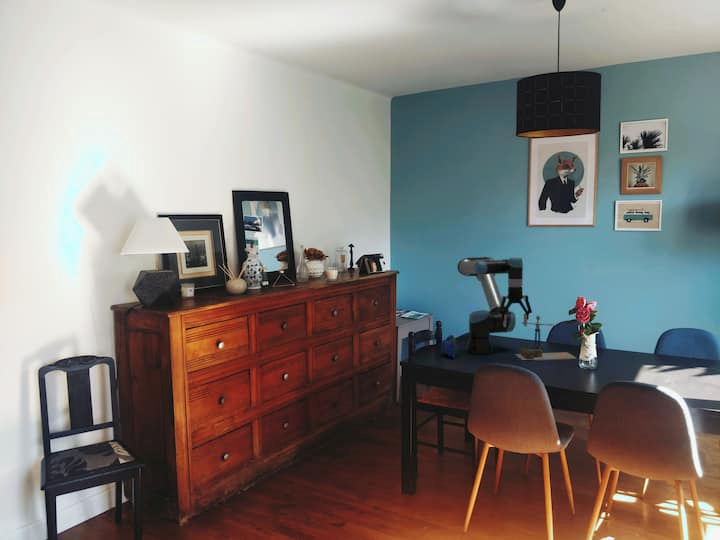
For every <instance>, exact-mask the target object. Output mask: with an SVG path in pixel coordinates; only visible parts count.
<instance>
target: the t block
mask: <svg viewBox="0 0 720 540" xmlns="http://www.w3.org/2000/svg"><path fill="white" fill-rule="evenodd" d="M542 353H543V349H541V348H534V349H532V348H531V349H529V348H528V347H527V348H526V347H524V348H523V347H522V348H520V354H521V355H522V356H524V357H525V358H526V359H534V357H542Z"/></svg>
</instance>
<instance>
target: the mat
mask: <svg viewBox="0 0 720 540" xmlns="http://www.w3.org/2000/svg"><path fill="white" fill-rule="evenodd" d="M515 355H516V356H517V357H518V359H519V358H520V359H521V360H537V361H555V360H556V361H557V360H559V361H561V360H577V357H575V356H574V355H573V354H571V353H569V352H568V351H566V352H542V357H534V359H526V358H525V357H524V356H522V355H521V353H516V354H514V356H515ZM516 356H515V357H516ZM517 357H516V358H517ZM520 359H519V360H520ZM521 360H520V361H521Z"/></svg>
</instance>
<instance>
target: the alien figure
mask: <svg viewBox="0 0 720 540" xmlns="http://www.w3.org/2000/svg"><path fill="white" fill-rule="evenodd" d="M535 318H536V322H528V321H527V325H535V328H534V332H535V333H534V344H533V346H534V349H537V347H538V349H541V347H544V345H543V343H541V329H540V327H541V326H552V327H554V326H555V324H553V323H539V321H540V320H541V317H540V315H536V316H535ZM521 324H522V325H524V321H523V322H521ZM537 336H538V337H537ZM537 342H538V343H537Z"/></svg>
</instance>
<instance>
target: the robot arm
mask: <svg viewBox="0 0 720 540" xmlns="http://www.w3.org/2000/svg"><path fill="white" fill-rule="evenodd" d="M523 269H524V262H523V257H522V258H521V257H509V258H508V259H507V258H504V259H498V260H495V259H494V258H493V257H491V256H482V257H481V256H480V257H478V256H477V257H466V258H462V259H461V260H459V261H458V264H457V271H458V273H459V274H460V275H462V276H465V277H475V278H476V280H477V281H478V282H480V284H481V287H482V290H483V293H484V296H485V299H486V302H487V305H488V308H489V310H486V309H485V310H481V309H480V310H476V311H475V310H474V311H473V312H471V313H470V314H469V319H468V335H469V336H468V341H467V345H466V347H465V350H466V351H467V353H468V352H470V353H469V354H471V353H474V354H473V355H478V354H484V355H490V354H493V353H494V347H493V345H492V342H491V337H490V336H491V334H499V333H511V332H513V331H514V330H515V328H516V323H517V322H516V320H517V318H516V315H515V312H513V311H510V309H509V308H510V307H511V305H512V304H519V306H520V307H521V309H522V310H523V311H524V313H523V322H524V324H523V326H524V327H527V326H528V324H527V322H528V320H529V316H530V314H532V313H533V311H532V307H531V304H530V302H529V296H528V295H527V294H525V295H524V294H523V275H524V274H523V273H524V271H523ZM498 274H499V275H501V274H503V275H504V274H505V275H506V274H507V278H508V279H507V285H508V287H507V295H501V293H500V292H501V291H500V290H499V288H498V285H497V281H496V278H495V277H496V275H498ZM507 299H508V301H507ZM523 300H524V301H525V304H524V302H523ZM506 301H507V302H506ZM525 305H526V306H525ZM466 351H465V352H466ZM489 353H490V354H489Z"/></svg>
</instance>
